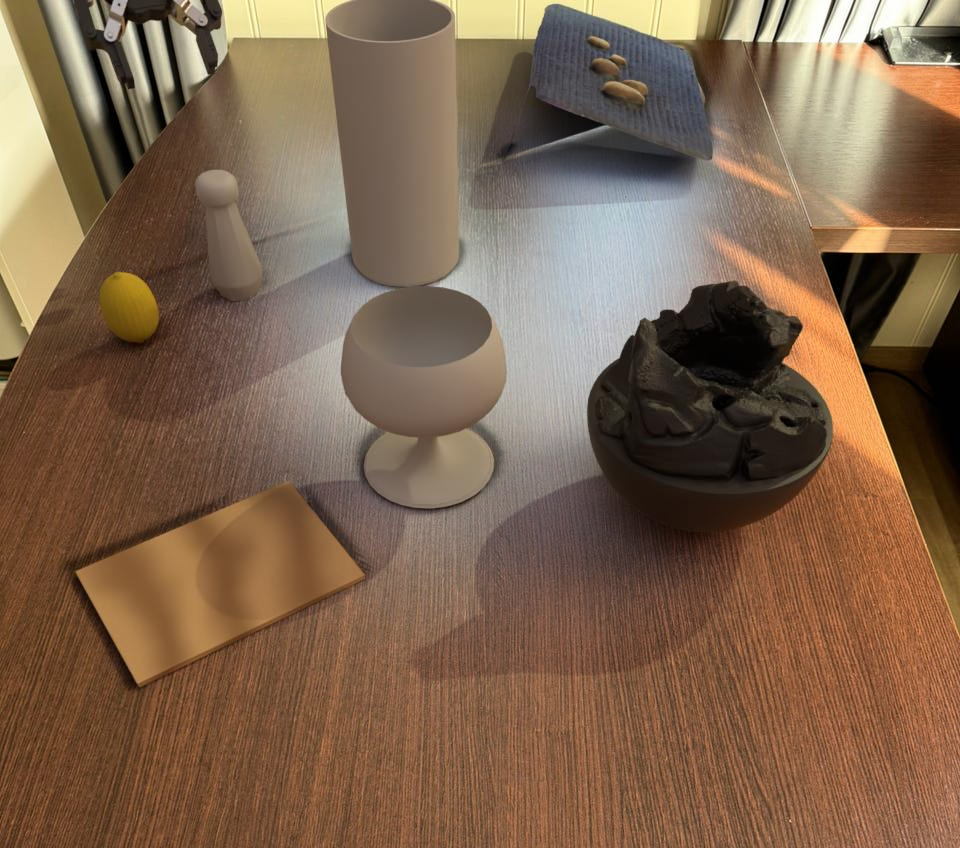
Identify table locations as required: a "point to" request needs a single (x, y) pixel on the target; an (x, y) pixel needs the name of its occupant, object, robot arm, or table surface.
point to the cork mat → (216, 581)
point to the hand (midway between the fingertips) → (172, 77)
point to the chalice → (425, 392)
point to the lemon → (128, 307)
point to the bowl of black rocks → (709, 414)
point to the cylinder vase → (397, 136)
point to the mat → (620, 80)
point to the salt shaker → (228, 238)
